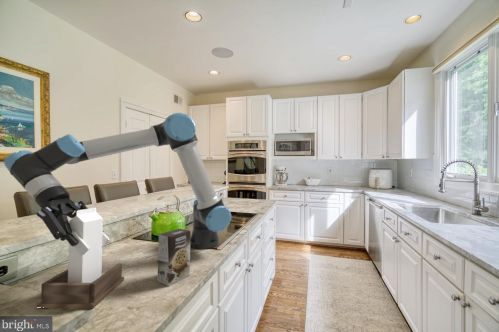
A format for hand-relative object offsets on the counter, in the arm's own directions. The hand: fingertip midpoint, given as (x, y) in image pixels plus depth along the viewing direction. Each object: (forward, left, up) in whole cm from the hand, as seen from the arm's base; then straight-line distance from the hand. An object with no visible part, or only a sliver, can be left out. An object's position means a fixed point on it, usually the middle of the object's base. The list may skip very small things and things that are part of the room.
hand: (96, 246), depth 66 cm
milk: (+4, 0, -11) cm, 11 cm away
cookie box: (-21, -9, -14) cm, 27 cm away
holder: (+3, 0, -14) cm, 15 cm away
